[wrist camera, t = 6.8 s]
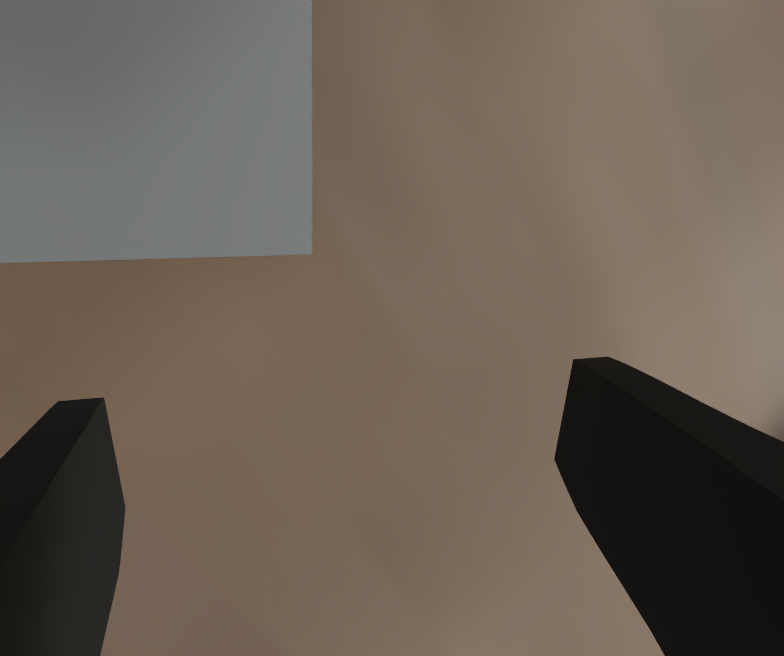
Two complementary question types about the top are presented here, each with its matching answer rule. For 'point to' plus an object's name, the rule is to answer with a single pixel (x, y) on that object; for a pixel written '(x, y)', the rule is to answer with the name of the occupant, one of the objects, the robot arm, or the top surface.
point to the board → (155, 129)
